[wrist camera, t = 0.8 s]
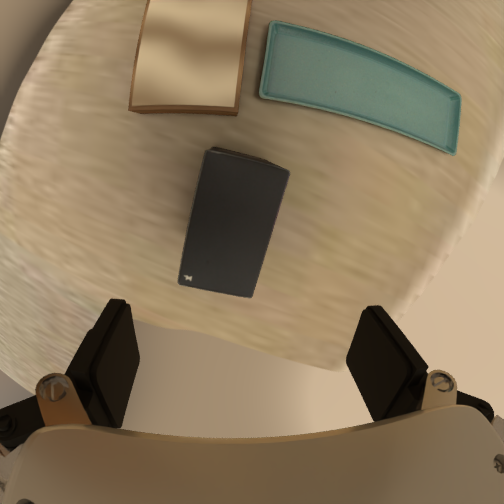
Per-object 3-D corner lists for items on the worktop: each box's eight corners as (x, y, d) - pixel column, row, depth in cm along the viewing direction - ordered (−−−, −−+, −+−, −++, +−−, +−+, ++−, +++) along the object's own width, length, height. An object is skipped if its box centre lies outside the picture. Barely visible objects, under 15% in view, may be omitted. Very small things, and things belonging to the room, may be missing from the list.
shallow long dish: (452, 95, 26) (464, 94, 24) (446, 155, 29) (457, 157, 27) (266, 27, 22) (270, 18, 20) (255, 100, 26) (257, 97, 24)
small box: (245, 252, 32) (254, 303, 22) (189, 239, 31) (173, 287, 21) (272, 160, 28) (295, 171, 18) (210, 145, 27) (201, 147, 17)
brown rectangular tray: (159, 2, 19) (150, -15, 15) (250, 2, 21) (254, -15, 17) (140, 113, 25) (127, 110, 21) (236, 115, 26) (238, 111, 22)
